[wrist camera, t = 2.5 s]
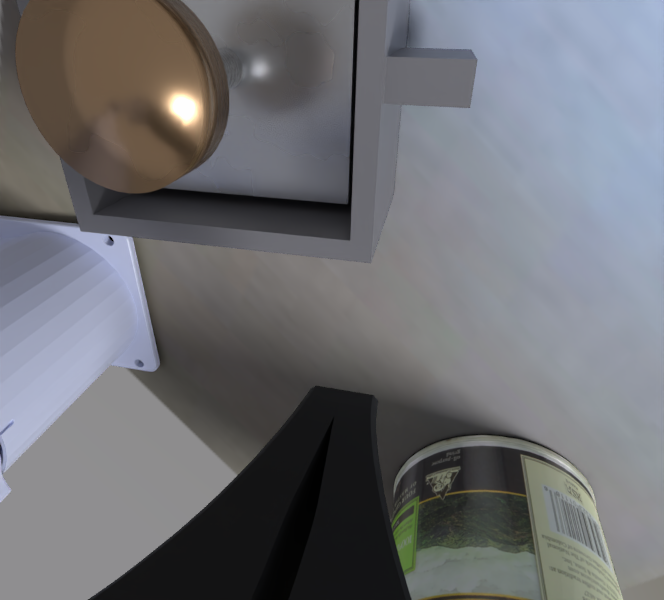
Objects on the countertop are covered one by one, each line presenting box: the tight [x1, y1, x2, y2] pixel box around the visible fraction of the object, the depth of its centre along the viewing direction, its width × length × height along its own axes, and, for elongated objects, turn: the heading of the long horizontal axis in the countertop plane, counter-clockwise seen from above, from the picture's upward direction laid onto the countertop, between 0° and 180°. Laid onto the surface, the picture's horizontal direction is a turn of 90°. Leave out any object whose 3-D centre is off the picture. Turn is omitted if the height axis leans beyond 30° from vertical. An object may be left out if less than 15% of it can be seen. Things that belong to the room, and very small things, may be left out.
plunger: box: [15, 0, 359, 204], centre depth 11 cm, size 7×7×6 cm
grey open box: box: [16, 0, 477, 263], centre depth 14 cm, size 11×9×6 cm
